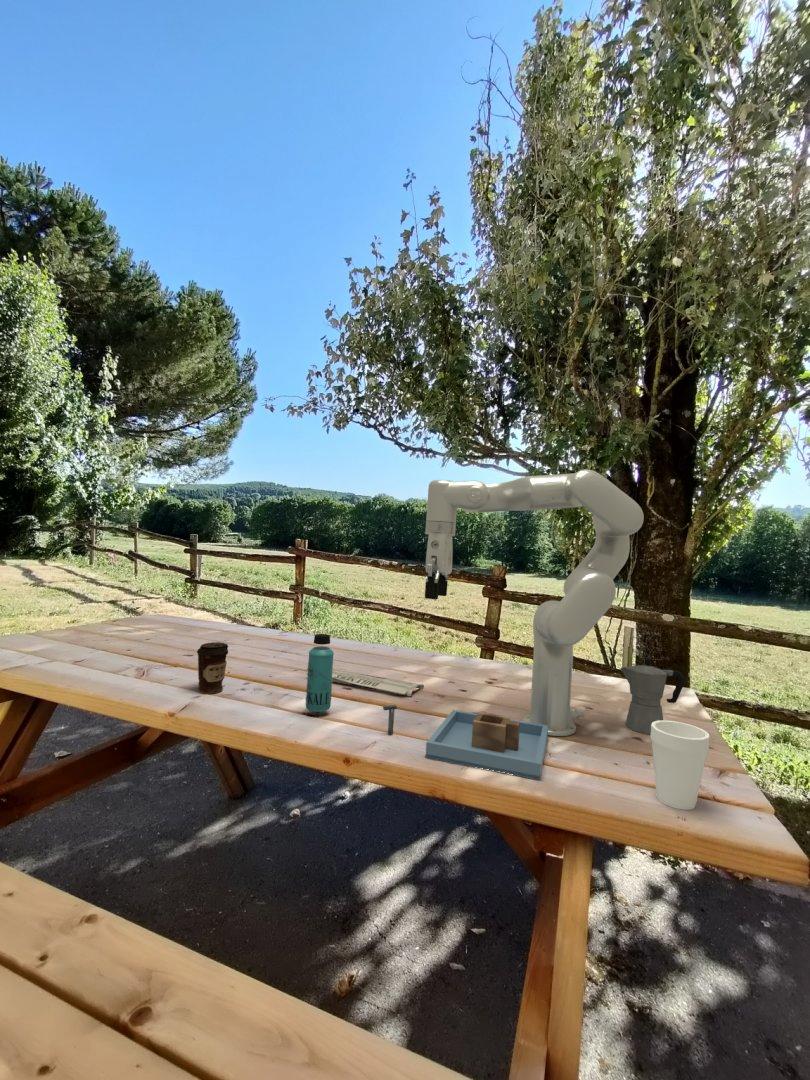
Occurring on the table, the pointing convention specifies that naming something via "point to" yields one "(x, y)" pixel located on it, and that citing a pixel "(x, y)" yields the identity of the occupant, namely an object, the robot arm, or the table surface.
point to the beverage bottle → (319, 675)
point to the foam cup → (678, 762)
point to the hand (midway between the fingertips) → (436, 597)
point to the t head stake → (390, 717)
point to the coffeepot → (648, 694)
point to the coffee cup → (211, 666)
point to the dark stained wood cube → (495, 733)
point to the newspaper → (374, 682)
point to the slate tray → (457, 748)
